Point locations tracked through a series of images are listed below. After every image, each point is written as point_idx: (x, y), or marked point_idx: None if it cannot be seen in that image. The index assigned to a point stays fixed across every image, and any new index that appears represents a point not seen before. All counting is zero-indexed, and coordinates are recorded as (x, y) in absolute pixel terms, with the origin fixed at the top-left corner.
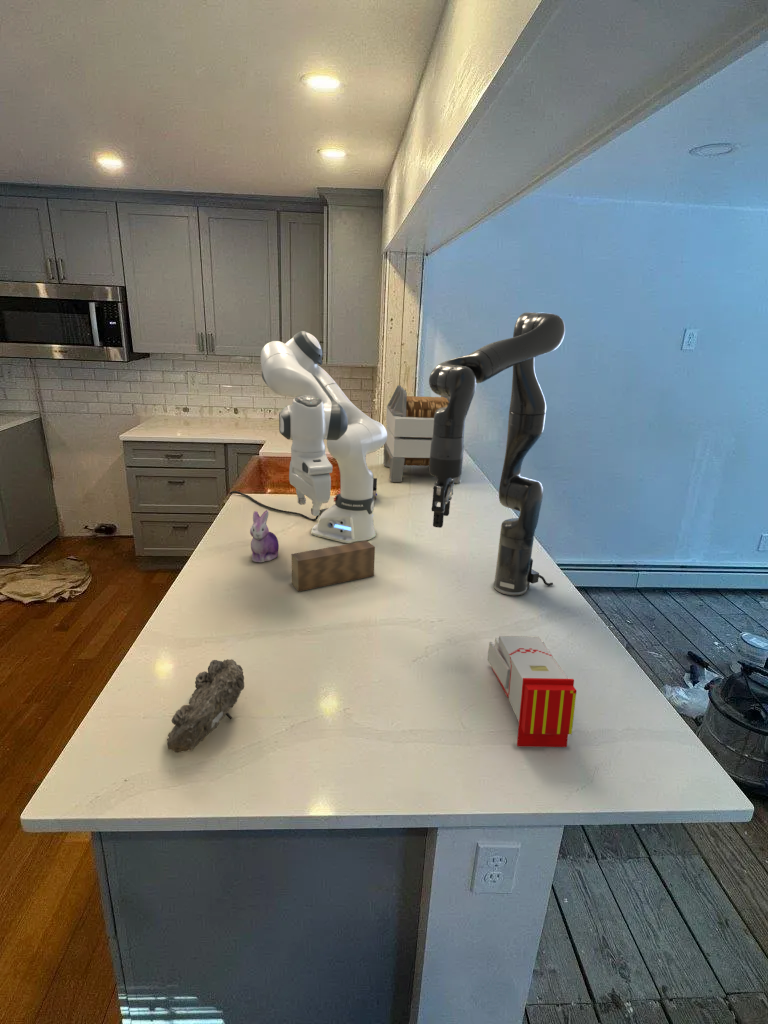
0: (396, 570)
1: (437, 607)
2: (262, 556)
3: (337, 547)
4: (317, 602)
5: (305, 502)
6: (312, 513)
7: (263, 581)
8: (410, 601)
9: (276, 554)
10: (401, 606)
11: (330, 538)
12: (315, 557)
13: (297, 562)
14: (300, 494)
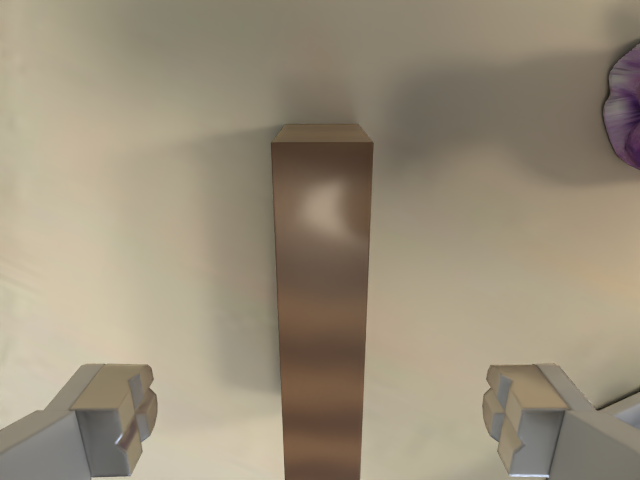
0: None
1: None
2: (631, 80)
3: (346, 368)
4: (180, 158)
5: (489, 430)
6: (94, 372)
7: (435, 18)
8: None
9: (623, 154)
10: None
11: (635, 397)
12: (279, 238)
13: (282, 140)
14: (607, 474)
